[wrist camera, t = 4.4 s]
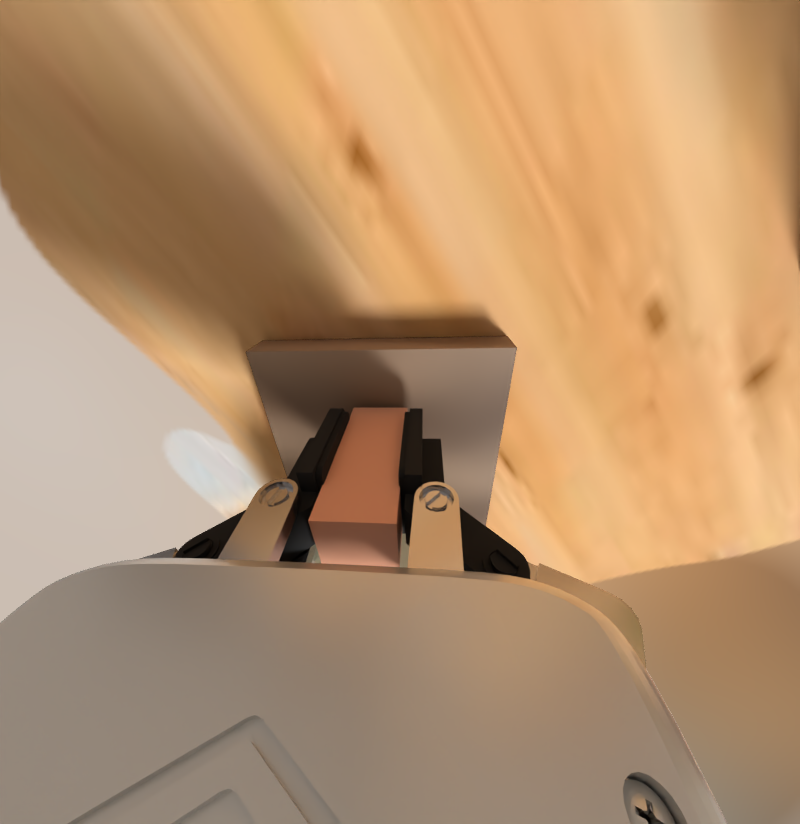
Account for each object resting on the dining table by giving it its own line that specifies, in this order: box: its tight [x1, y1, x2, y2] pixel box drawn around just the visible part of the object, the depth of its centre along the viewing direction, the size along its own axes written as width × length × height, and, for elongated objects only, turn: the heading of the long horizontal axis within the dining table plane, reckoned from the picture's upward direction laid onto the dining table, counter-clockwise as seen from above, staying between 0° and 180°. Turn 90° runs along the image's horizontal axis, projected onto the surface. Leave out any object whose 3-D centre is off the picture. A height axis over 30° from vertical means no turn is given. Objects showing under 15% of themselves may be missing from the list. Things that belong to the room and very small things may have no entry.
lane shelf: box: [246, 336, 517, 563], centre depth 16 cm, size 18×11×4 cm, turn 2°
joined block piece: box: [308, 408, 409, 567], centre depth 13 cm, size 12×6×6 cm, turn 2°
